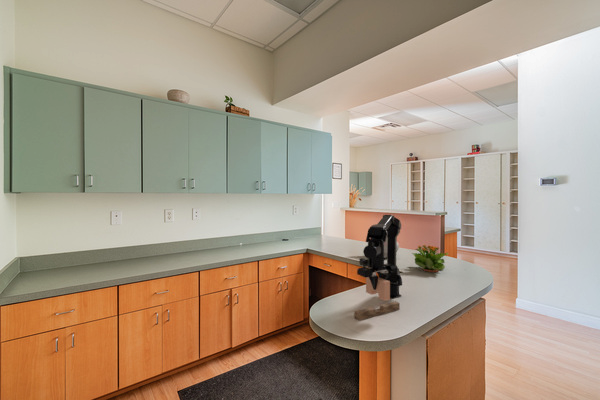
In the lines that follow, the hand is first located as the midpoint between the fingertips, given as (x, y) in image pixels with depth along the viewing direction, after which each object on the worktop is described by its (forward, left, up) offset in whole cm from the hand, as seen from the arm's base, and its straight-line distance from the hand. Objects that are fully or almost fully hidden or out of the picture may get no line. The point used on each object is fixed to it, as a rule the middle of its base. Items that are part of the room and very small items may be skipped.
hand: (377, 289), depth 122 cm
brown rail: (0, 0, -11) cm, 11 cm away
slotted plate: (0, 0, -3) cm, 3 cm away
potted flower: (-79, -35, -11) cm, 87 cm away
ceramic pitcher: (-84, -83, -11) cm, 119 cm away
